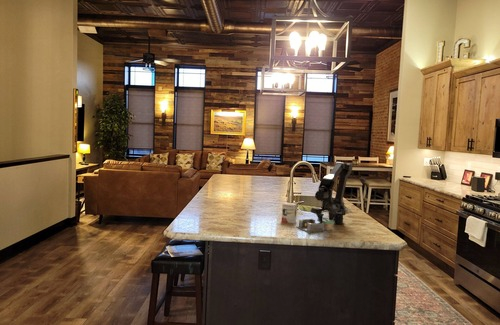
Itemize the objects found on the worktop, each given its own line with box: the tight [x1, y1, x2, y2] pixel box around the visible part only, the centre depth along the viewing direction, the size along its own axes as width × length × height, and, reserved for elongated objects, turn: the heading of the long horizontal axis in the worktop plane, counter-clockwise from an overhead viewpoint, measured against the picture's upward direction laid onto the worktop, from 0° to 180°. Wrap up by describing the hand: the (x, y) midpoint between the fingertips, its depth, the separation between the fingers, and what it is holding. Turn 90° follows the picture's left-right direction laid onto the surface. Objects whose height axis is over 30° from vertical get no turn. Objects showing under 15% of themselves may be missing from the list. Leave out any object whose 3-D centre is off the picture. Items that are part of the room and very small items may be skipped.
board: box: [316, 216, 335, 225], centre depth 225 cm, size 9×6×2 cm, turn 24°
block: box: [324, 224, 333, 231], centre depth 226 cm, size 8×3×4 cm, turn 24°
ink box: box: [280, 202, 298, 224], centre depth 238 cm, size 9×5×12 cm, turn 68°
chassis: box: [296, 218, 326, 234], centre depth 220 cm, size 14×11×5 cm
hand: (325, 224), depth 225 cm, fingers closed on board, 6 cm apart
